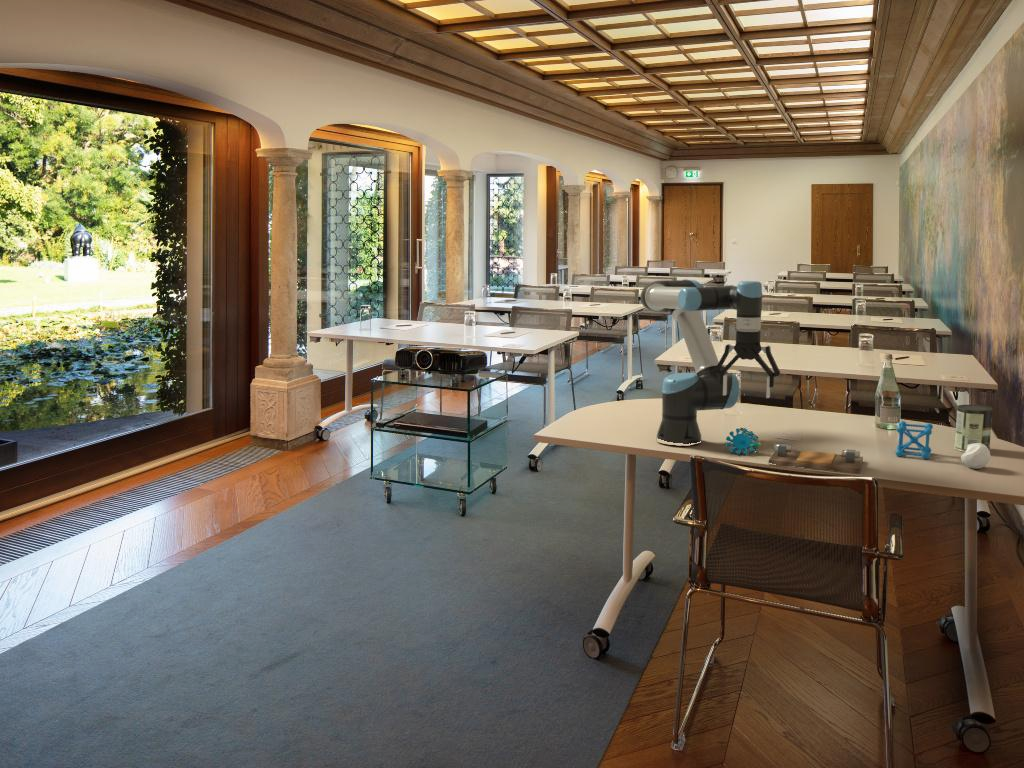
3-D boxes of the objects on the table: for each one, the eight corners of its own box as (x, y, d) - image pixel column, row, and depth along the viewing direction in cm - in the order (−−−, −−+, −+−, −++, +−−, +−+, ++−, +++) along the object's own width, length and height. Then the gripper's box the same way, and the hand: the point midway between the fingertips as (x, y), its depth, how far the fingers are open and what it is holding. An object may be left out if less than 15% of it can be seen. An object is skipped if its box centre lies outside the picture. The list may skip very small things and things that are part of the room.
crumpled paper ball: (963, 463, 263) (965, 438, 262) (991, 467, 258) (993, 442, 257) (957, 469, 257) (959, 444, 256) (986, 473, 252) (988, 447, 251)
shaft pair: (773, 455, 269) (773, 445, 269) (775, 452, 273) (775, 442, 272) (858, 464, 258) (859, 453, 258) (859, 460, 262) (860, 450, 261)
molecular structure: (894, 457, 272) (896, 426, 270) (897, 449, 280) (899, 420, 279) (929, 460, 267) (931, 429, 265) (931, 453, 276) (933, 422, 274)
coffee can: (979, 445, 284) (982, 404, 281) (996, 453, 274) (999, 410, 271) (947, 446, 284) (950, 404, 282) (963, 454, 274) (966, 410, 271)
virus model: (722, 449, 278) (730, 423, 282) (722, 458, 283) (731, 433, 287) (756, 457, 273) (764, 431, 278) (756, 466, 278) (764, 440, 283)
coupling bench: (768, 464, 265) (768, 458, 264) (776, 453, 278) (776, 447, 278) (859, 473, 254) (859, 467, 253) (862, 461, 267) (863, 455, 267)
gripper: (706, 330, 274) (704, 395, 277) (787, 332, 264) (785, 400, 267) (711, 327, 281) (709, 391, 284) (790, 330, 271) (788, 396, 274)
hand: (746, 396), depth 276 cm, fingers open, 13 cm apart
